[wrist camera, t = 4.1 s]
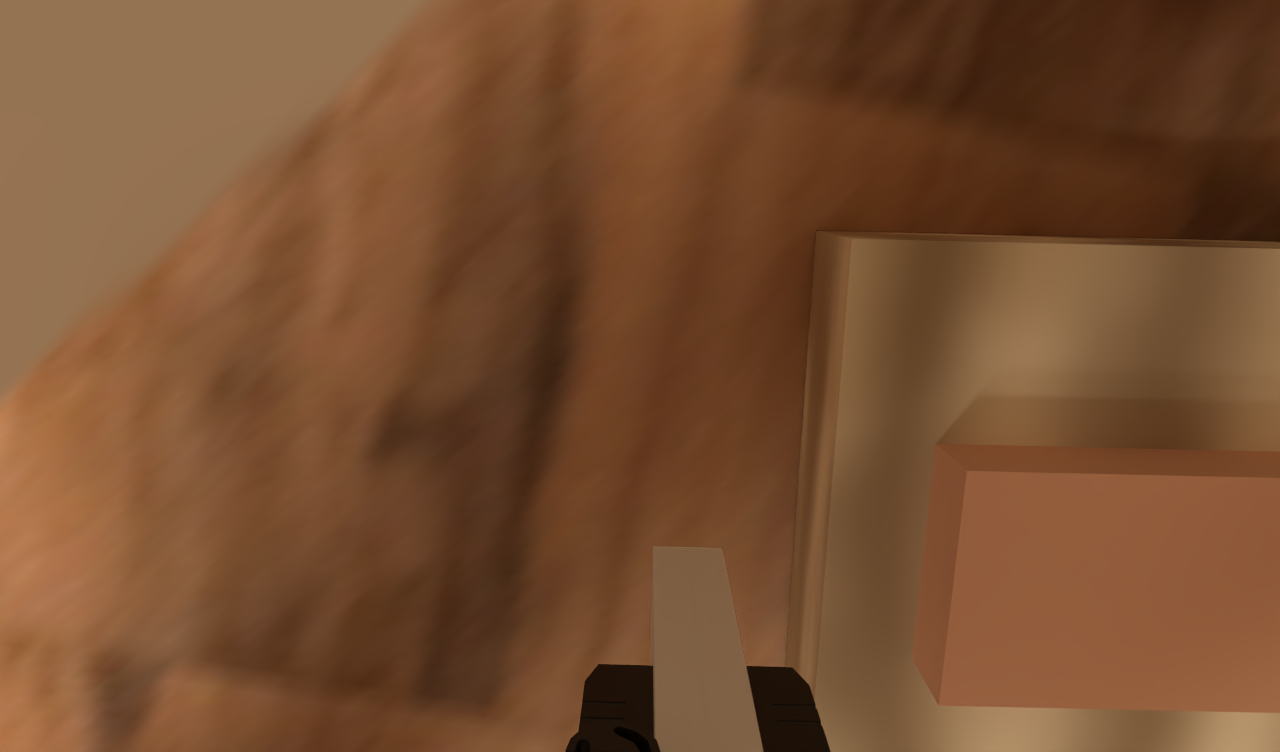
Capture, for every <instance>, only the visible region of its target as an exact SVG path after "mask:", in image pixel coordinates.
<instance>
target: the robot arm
mask: <svg viewBox="0 0 1280 752" xmlns="http://www.w3.org/2000/svg"><path fill="white" fill-rule="evenodd" d="M566 752H831V751H830V748H829V745H828V742H827V738H826V735H825V732H824V729H823V726H822V725H821V720H820V717H819V713H818V710H817V709H816V704H815V701H814V698H813V695H812V692H811V689H810V685H809V684H808V683H807V682H806V681H805V680H804V679H803V678H802V677H801V676H800V675H799V674H798V673H797V672H796V671H795V670H794V668H793V667H761V666H746V663H745V658H744V653H743V648H742V643H741V638H740V633H739V628H738V623H737V618H736V613H735V608H734V603H733V598H732V593H731V589H730V584H729V579H728V574H727V569H726V564H725V559H724V554H723V549H722V548H712V547H673V546H653V566H652V600H651V635H650V666H646V665H608V664H598V666H597V667H596V668H595V669H594V671H593V672H592V673H591V674H590V676H589V677H588V678H587V679H586V681H585V685H584V693H583V701H582V709H581V716H580V724H579V732H578V733H576V734H575V735H574V736H573V737H572V738H571V739H570V741H569V744H568V746H567V748H566Z"/></svg>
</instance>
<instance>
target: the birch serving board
mask: <svg viewBox="0 0 1280 752" xmlns="http://www.w3.org/2000/svg"><path fill="white" fill-rule="evenodd" d="M935 444H965V445H1009V446H1053V447H1097V448H1141V449H1185V450H1229V451H1273V452H1280V242H1277V241H1234V240H1192V239H1149V238H1106V237H1064V236H1021V235H978V234H936V233H893V232H850V231H816V239H815V253H814V267H813V281H812V295H811V309H810V323H809V337H808V351H807V365H806V379H805V394H804V408H803V422H802V436H801V450H800V464H799V478H798V492H797V506H796V520H795V534H794V548H793V562H792V577H791V591H790V605H789V619H788V633H787V647H786V661H785V667H793V668H794V670H795V671H796V672H797V673H798V674H799V675H800V676H801V677H802V678H803V679H804V680H805V681H806V682H807V683H808V684H809V685H810V689H811V692H812V695H813V698H814V701H815V704H816V709H817V710H818V713H819V717H820V720H821V725H822V726H823V729H824V732H825V735H826V738H827V742H828V745H829V748H830V751H831V752H1280V713H1252V712H1206V711H1160V710H1115V709H1069V708H1023V707H977V706H939V705H938V704H937V702H936V700H935V698H934V697H933V695H932V693H931V692H930V690H929V688H928V686H927V685H926V683H925V681H924V679H923V678H922V676H921V674H920V672H919V671H918V669H917V667H916V665H915V664H914V662H913V660H912V651H913V642H914V633H915V624H916V615H917V606H918V597H919V588H920V579H921V570H922V561H923V552H924V543H925V534H926V524H927V515H928V506H929V497H930V488H931V479H932V470H933V461H934V452H935Z"/></svg>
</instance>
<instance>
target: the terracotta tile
mask: <svg viewBox="0 0 1280 752" xmlns="http://www.w3.org/2000/svg"><path fill="white" fill-rule="evenodd" d="M912 660H913V662H914V664H915V665H916V667H917V669H918V671H919V672H920V674H921V676H922V678H923V679H924V681H925V683H926V685H927V686H928V688H929V690H930V692H931V693H932V695H933V697H934V698H935V700H936V702H937V704H938V705H939V706H977V707H1023V708H1069V709H1115V710H1160V711H1206V712H1252V713H1280V452H1273V451H1229V450H1185V449H1141V448H1097V447H1053V446H1009V445H965V444H935V452H934V461H933V470H932V479H931V488H930V497H929V506H928V515H927V524H926V534H925V543H924V552H923V561H922V570H921V579H920V588H919V597H918V606H917V615H916V624H915V633H914V642H913V651H912Z"/></svg>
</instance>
